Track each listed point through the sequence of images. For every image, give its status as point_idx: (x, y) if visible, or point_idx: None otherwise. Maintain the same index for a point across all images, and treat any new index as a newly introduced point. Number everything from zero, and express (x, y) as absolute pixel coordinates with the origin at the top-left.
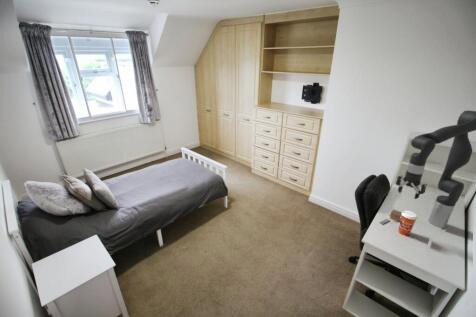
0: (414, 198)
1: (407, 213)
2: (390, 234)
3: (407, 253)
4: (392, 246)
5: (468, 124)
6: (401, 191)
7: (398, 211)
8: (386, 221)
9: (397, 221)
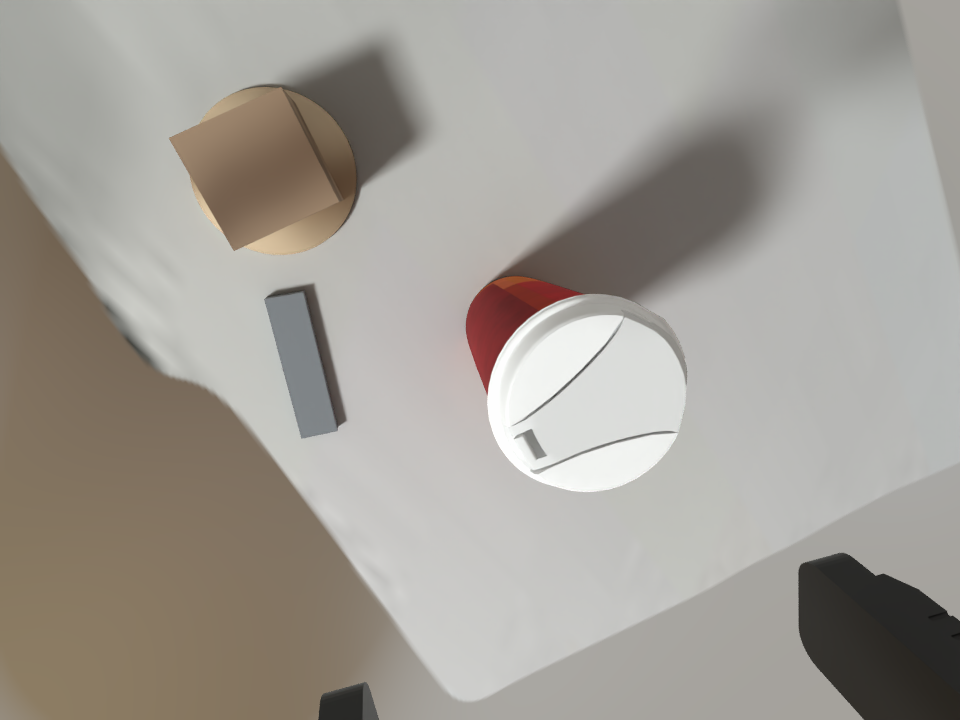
0: (813, 648)
1: (576, 434)
2: (488, 475)
3: (698, 532)
4: (604, 580)
5: None
6: (365, 699)
7: (247, 121)
8: (310, 349)
9: (341, 205)
